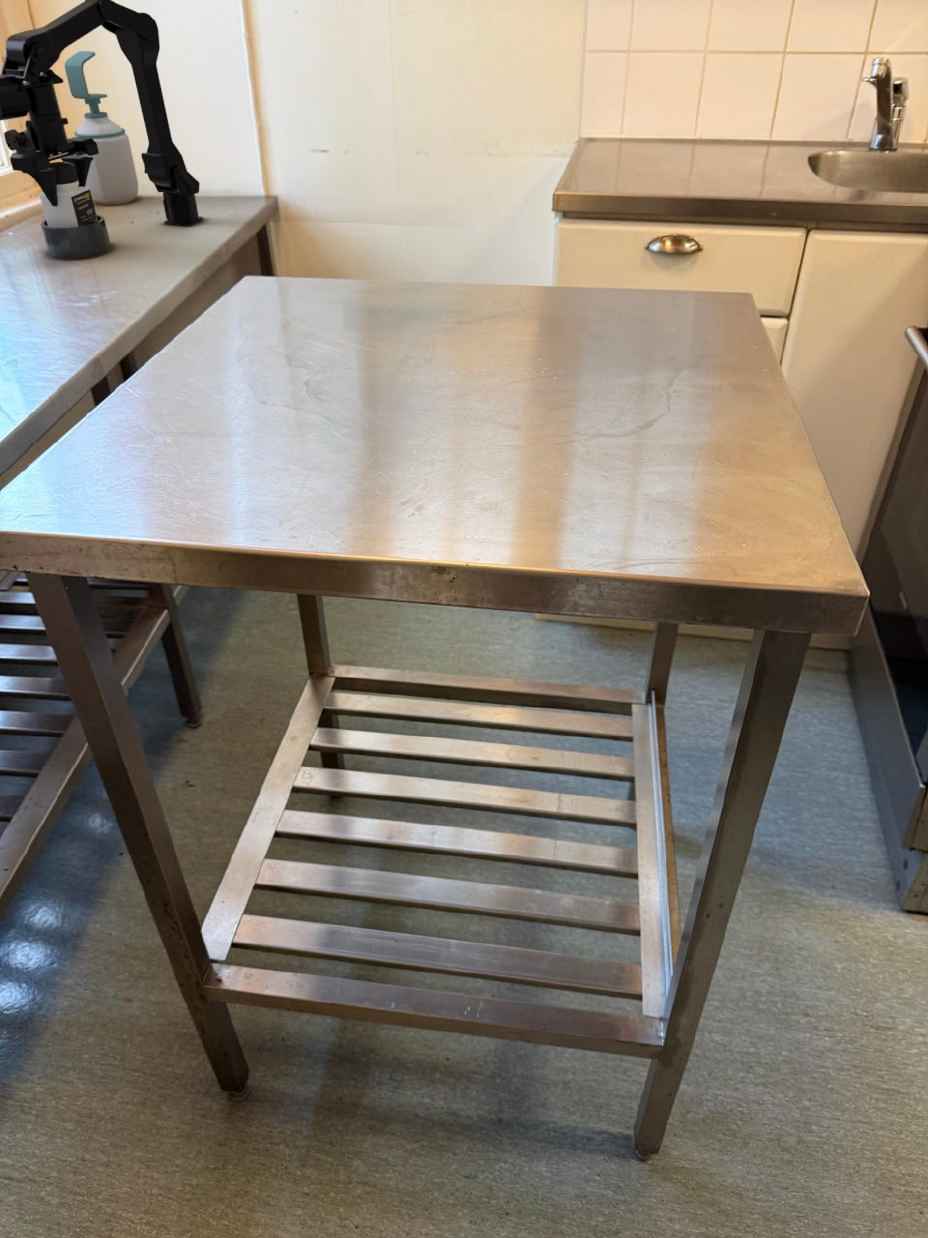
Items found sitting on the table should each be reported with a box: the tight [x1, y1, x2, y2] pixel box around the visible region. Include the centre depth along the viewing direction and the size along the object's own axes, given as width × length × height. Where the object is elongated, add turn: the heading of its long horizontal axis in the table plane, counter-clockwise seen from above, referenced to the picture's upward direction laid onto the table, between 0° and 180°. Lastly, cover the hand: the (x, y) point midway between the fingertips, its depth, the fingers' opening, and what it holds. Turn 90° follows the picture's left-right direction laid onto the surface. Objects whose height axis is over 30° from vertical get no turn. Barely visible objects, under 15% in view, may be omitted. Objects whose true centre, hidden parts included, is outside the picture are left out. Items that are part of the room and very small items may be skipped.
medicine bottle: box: [39, 161, 98, 228], centre depth 179 cm, size 7×7×12 cm
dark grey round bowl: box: [40, 213, 112, 261], centre depth 183 cm, size 12×12×6 cm
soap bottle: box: [64, 50, 139, 206], centre depth 211 cm, size 12×12×31 cm
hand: (68, 201), depth 179 cm, fingers closed on medicine bottle, 7 cm apart
